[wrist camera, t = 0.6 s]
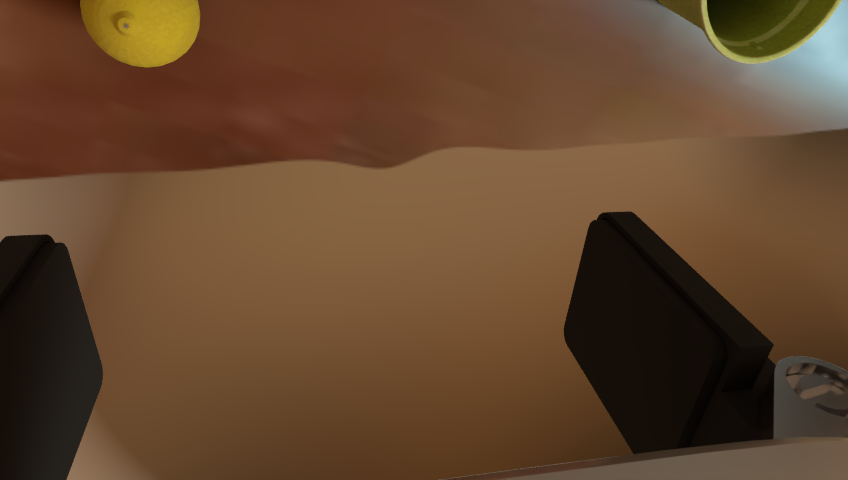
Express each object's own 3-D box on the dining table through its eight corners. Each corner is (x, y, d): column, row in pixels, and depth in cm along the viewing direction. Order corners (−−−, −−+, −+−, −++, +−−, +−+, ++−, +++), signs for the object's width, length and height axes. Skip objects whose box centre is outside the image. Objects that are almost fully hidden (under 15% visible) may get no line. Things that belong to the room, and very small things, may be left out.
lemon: (162, 66, 35) (133, 106, 29) (83, -11, 33) (30, 14, 26) (228, 8, 34) (214, 36, 28) (152, -77, 32) (116, -68, 25)
